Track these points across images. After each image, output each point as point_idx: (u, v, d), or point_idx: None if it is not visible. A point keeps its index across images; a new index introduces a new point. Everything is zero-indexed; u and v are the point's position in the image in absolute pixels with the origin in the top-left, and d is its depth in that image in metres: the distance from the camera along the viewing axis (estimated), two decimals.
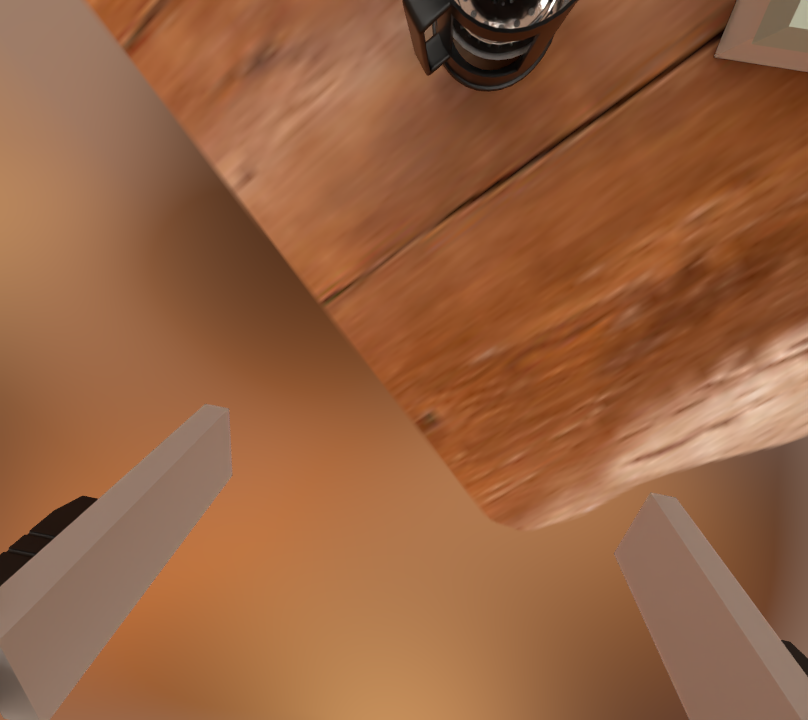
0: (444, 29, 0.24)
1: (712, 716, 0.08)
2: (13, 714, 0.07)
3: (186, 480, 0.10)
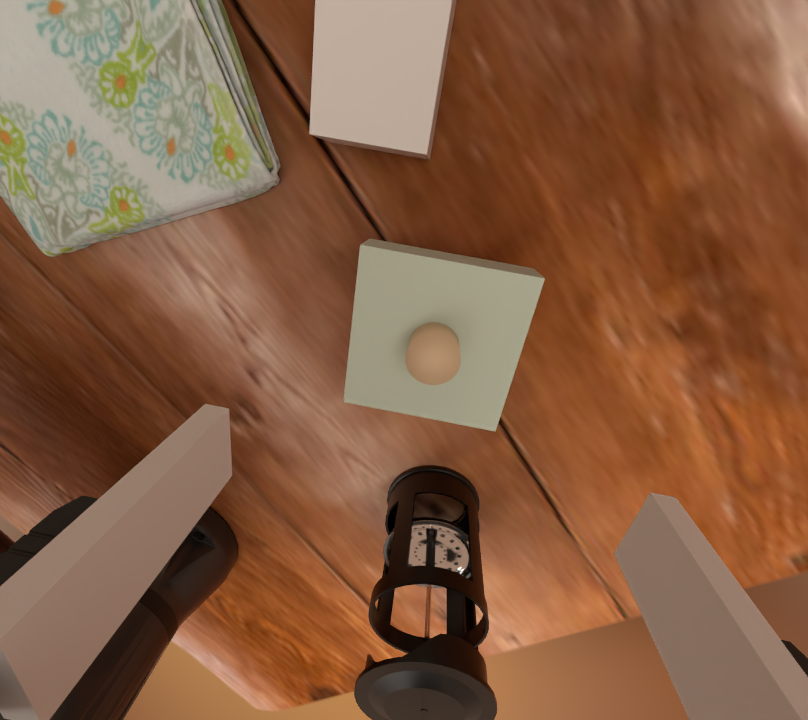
0: None
1: (712, 716, 0.08)
2: (13, 713, 0.07)
3: (186, 480, 0.10)
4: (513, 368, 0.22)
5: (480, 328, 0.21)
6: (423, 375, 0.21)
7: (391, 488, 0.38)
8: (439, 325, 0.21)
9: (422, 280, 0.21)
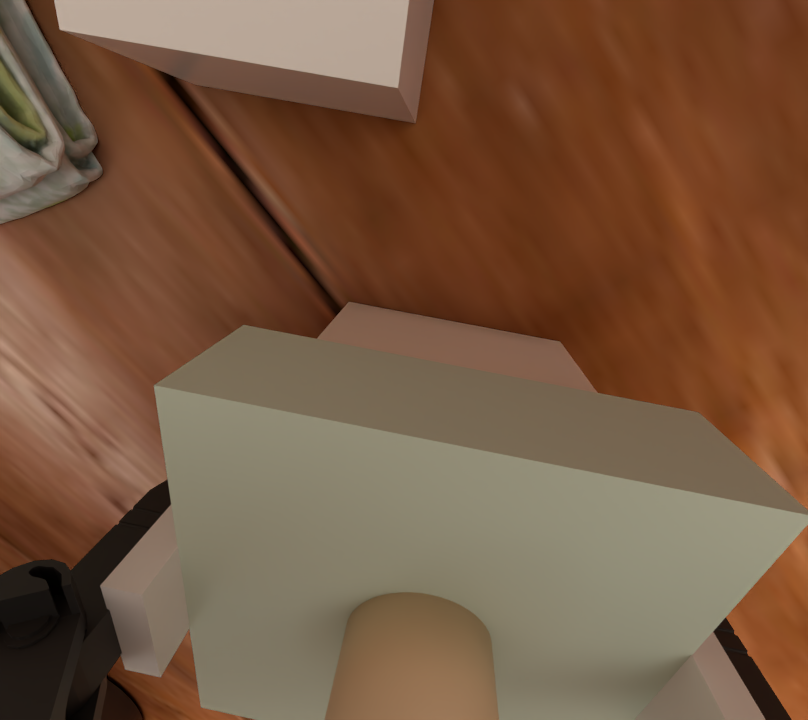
0: None
1: None
2: (136, 664, 0.07)
3: None
4: (642, 700, 0.08)
5: (559, 617, 0.07)
6: None
7: None
8: (432, 619, 0.07)
9: (374, 494, 0.06)
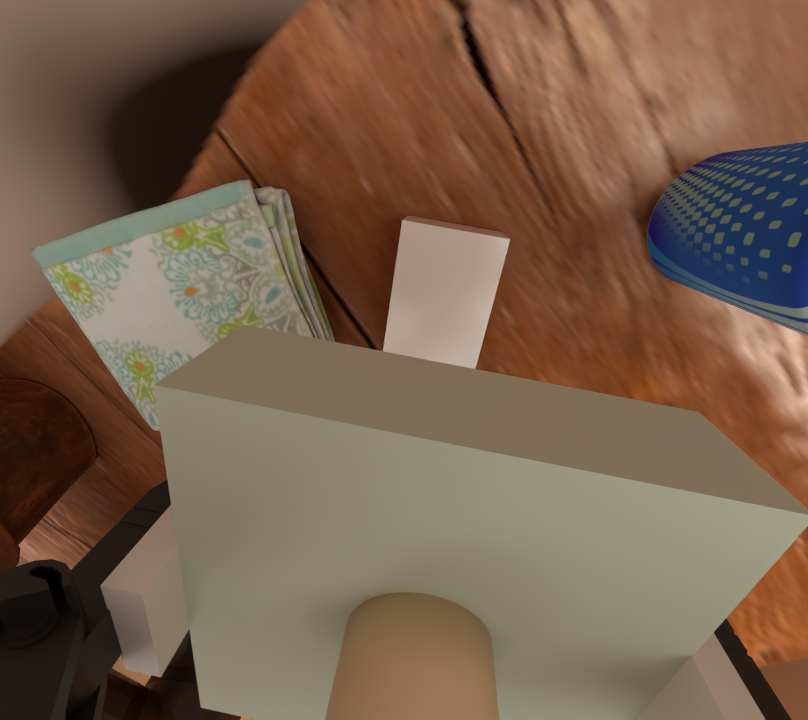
0: None
1: None
2: (135, 665, 0.07)
3: None
4: (642, 701, 0.08)
5: (560, 617, 0.07)
6: None
7: None
8: (432, 619, 0.07)
9: (375, 495, 0.06)
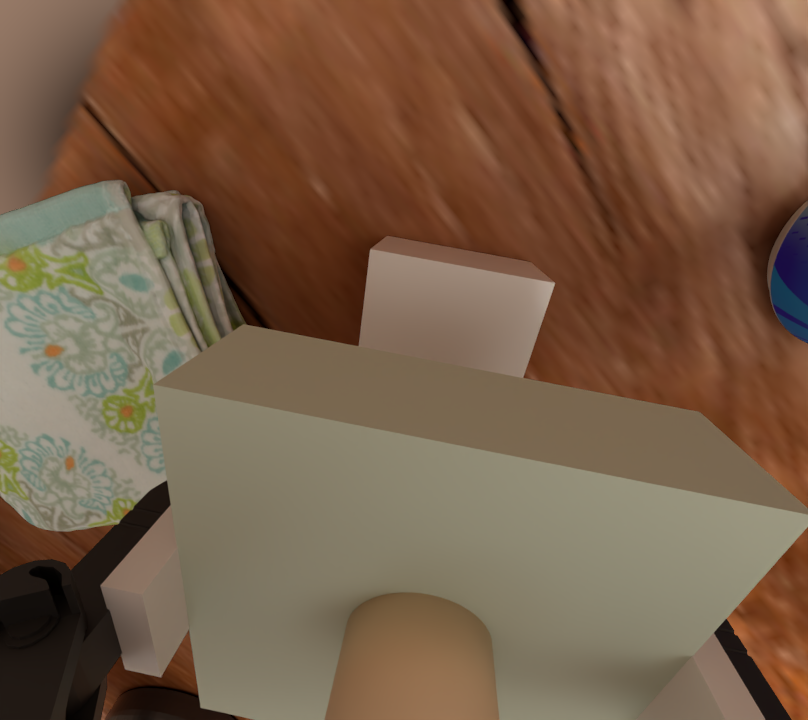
0: None
1: None
2: (136, 664, 0.07)
3: None
4: (642, 701, 0.08)
5: (560, 617, 0.07)
6: None
7: None
8: (432, 619, 0.07)
9: (375, 494, 0.06)
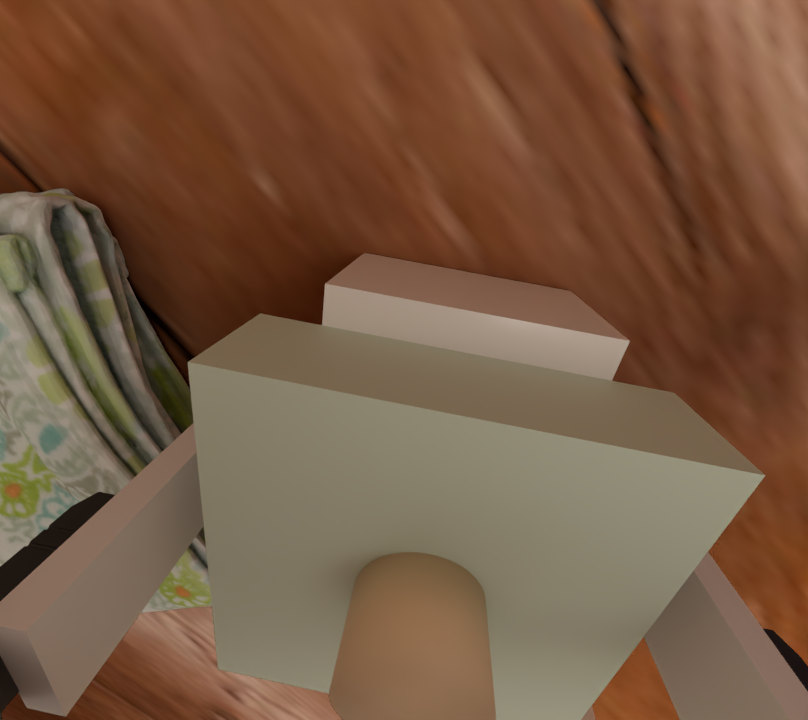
0: None
1: (696, 703, 0.08)
2: (36, 703, 0.07)
3: None
4: (622, 654, 0.09)
5: (545, 573, 0.08)
6: None
7: None
8: (432, 573, 0.08)
9: (381, 460, 0.07)
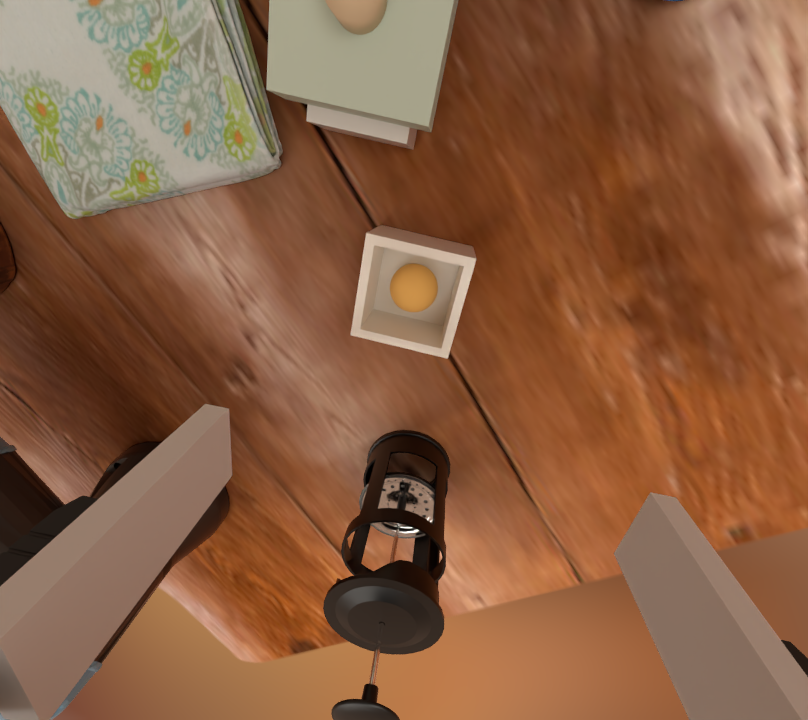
0: (425, 540, 0.38)
1: (712, 716, 0.08)
2: (14, 713, 0.07)
3: (186, 480, 0.10)
4: (445, 28, 0.20)
5: None
6: (341, 5, 0.19)
7: (371, 450, 0.42)
8: None
9: None
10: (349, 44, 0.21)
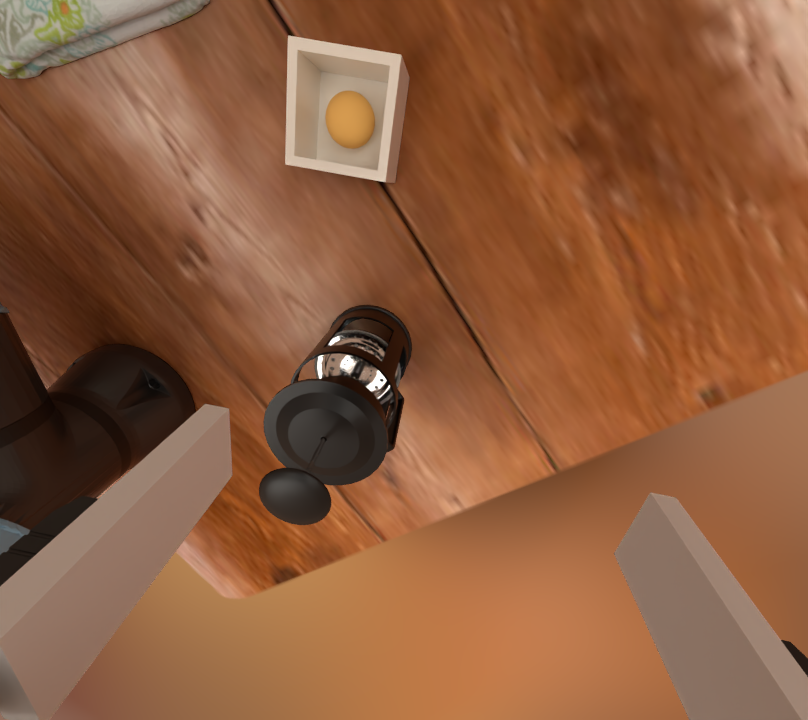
0: None
1: (712, 716, 0.08)
2: (14, 713, 0.07)
3: (186, 480, 0.10)
4: None
5: None
6: None
7: None
8: None
9: None
10: None
